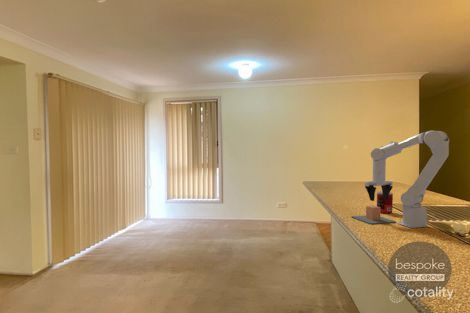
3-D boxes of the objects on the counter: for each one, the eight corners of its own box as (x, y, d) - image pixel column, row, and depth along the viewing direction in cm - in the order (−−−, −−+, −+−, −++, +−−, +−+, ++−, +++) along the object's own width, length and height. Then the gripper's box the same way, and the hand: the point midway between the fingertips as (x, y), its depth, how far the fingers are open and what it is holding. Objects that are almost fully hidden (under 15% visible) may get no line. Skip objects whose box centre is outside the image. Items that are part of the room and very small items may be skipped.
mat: (375, 215, 154) (375, 214, 154) (395, 222, 141) (395, 221, 141) (351, 217, 151) (351, 216, 151) (370, 224, 137) (370, 223, 137)
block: (373, 217, 149) (374, 205, 148) (380, 219, 144) (380, 207, 144) (366, 218, 147) (366, 205, 147) (372, 220, 143) (372, 207, 143)
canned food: (393, 211, 164) (393, 192, 164) (391, 214, 158) (392, 194, 157) (377, 210, 168) (378, 190, 168) (375, 212, 162) (376, 192, 161)
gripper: (385, 171, 153) (384, 198, 153) (361, 172, 149) (360, 199, 150) (396, 173, 146) (395, 200, 146) (370, 173, 142) (370, 202, 143)
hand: (378, 200), depth 148 cm, fingers open, 7 cm apart
